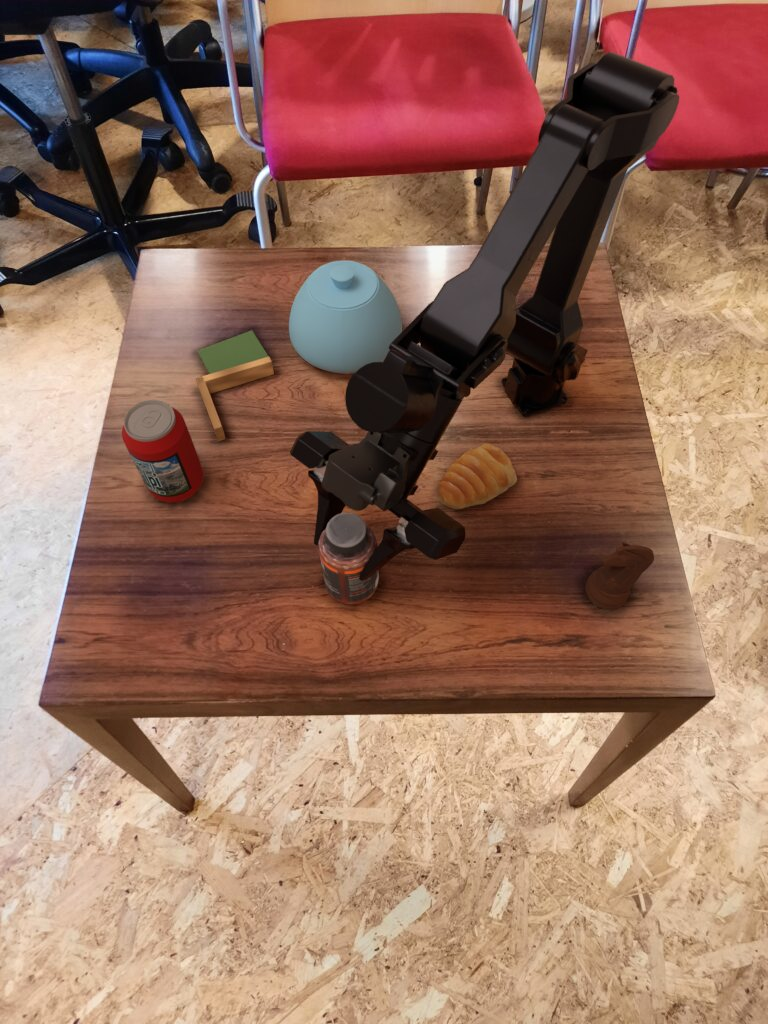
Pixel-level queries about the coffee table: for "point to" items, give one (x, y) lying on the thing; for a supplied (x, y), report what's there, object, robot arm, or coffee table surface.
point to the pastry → (476, 477)
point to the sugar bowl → (344, 318)
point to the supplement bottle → (347, 558)
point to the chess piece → (618, 575)
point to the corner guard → (230, 385)
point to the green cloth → (232, 352)
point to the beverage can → (162, 450)
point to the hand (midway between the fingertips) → (339, 561)
